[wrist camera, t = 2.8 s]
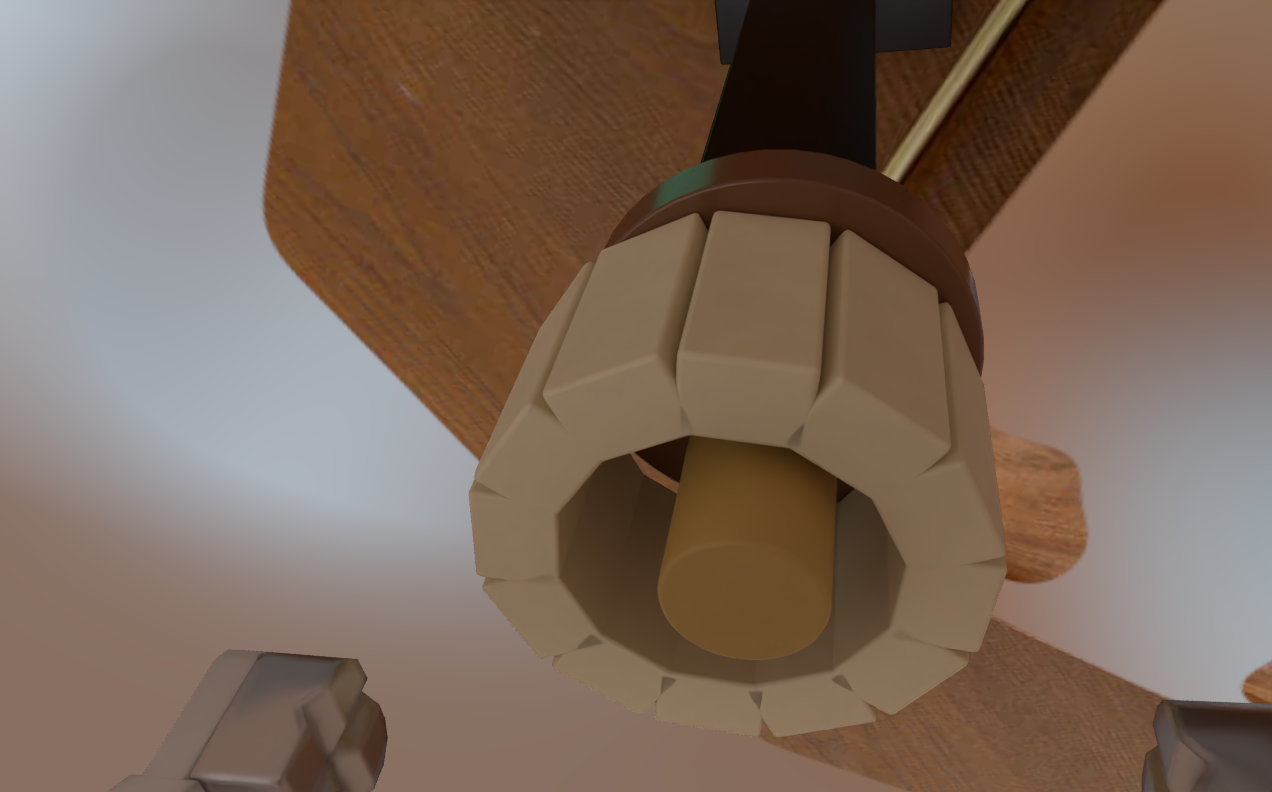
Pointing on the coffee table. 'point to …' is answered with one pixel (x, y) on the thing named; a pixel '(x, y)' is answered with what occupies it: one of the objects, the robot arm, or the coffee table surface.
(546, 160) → the coffee table surface
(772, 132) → the stand
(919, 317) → the tan segmented ring
